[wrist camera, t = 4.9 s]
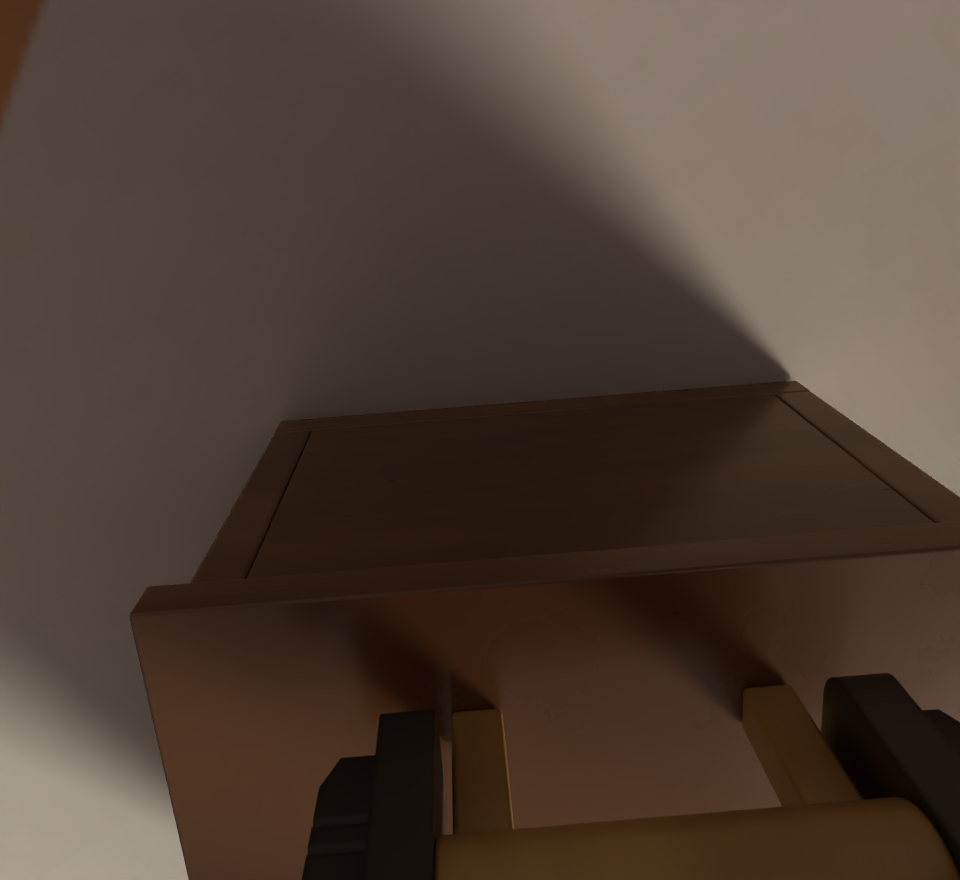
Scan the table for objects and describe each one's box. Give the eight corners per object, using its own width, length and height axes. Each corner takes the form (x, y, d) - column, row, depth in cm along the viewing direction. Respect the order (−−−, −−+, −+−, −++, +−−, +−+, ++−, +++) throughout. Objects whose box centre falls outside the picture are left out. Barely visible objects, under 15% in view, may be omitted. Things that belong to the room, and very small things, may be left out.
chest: (280, 420, 22) (158, 633, 13) (796, 380, 22) (1054, 560, 13) (354, 915, 27) (307, 1326, 18) (773, 879, 27) (944, 1268, 18)
